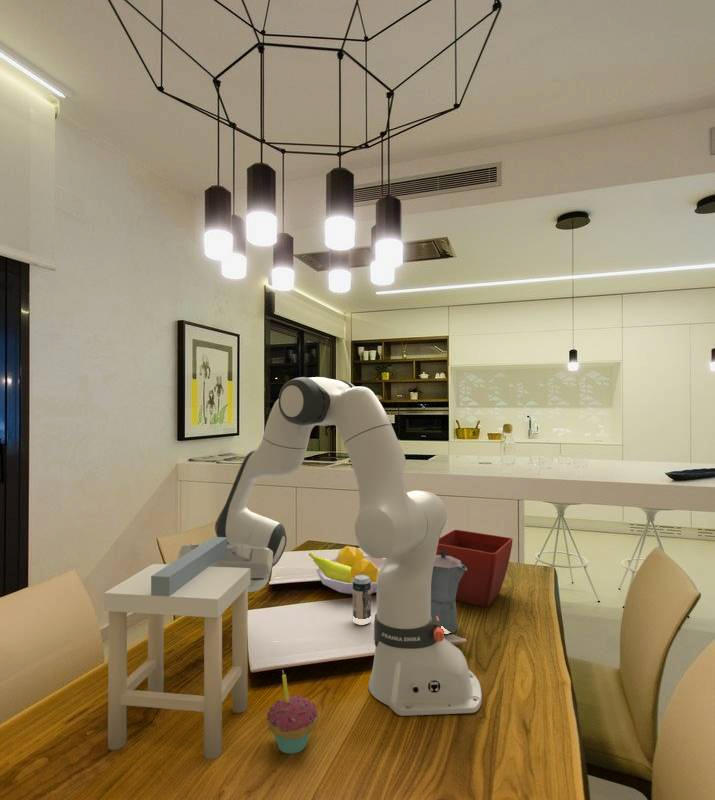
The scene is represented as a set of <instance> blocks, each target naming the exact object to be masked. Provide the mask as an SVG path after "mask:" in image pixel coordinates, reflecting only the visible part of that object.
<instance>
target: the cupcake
mask: <svg viewBox="0 0 715 800" xmlns="http://www.w3.org/2000/svg"><path fill="white" fill-rule="evenodd" d="M281 672H282V675H281V678H282V686H283V695H284V697H283V698H282V699H280V700H277V701H276V702H273V705H272V706H271V707H270V708H269V709H268V710H269V711H268V712H267V714H266V720H267V724H268V730H269V732H271V733H272V734H273V736H274V738H275V741H276V743H277V747H278V749H279V750H280V752H282V753H284V754H297V753H299V752H301V751H303V750H304V749H305V748H306V746H307V744H308V743H307V742H308V739H309V735H310V734H311V733H313V731H314V730H315V728H316V727H317V724H318V720H319V719H318V718H319V712H318V709H317V706H316V704H315V703H314V702H312V701H311V700H310V699H309V698H305V697H304V696H300V695H291V696H289V690H288V683H287V682H288V681H287V680H288V679H287V674H285V671H284V670H283V669H282V670H281Z"/></svg>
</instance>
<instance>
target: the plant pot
mask: <svg viewBox="0 0 715 800" xmlns="http://www.w3.org/2000/svg"><path fill="white" fill-rule="evenodd" d="M513 541H514V539H513V538H512V537H507V536H506V537H504V536H501V535H500V536H499V535H494V534H487V533H481V532H475V531H468V530H460V529H453V530H451V531H449V532H447V533H446V534H444V535H442V536H440V538H439V542H438V547H437V552H436V555H441V551H442V550H444V551H447V553H446V556H451V557H454V558H456V559H458V560H460V561H461V564H463V565H464V566H465V567H466V568H467V571H465V572H464V573H463V575H462V577H461V579H460V581H459V583H458V587H457V593H456V598H455V601H457V602H458V601H459V602H461V603H462V602H463V603H465V604H470V605H473V606H477V607H478V606H479V607H483V608H488V607H489V606H490V605H491V604H492V603H493V601H494V600H495V599H496V598H498V596H499V594H500V592H501V589H502V587H503V584H504V580H505V578H506V573H507V571H508V567H509V563H510V559H511V553H512V548H513Z"/></svg>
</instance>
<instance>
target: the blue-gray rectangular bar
mask: <svg viewBox="0 0 715 800" xmlns="http://www.w3.org/2000/svg"><path fill="white" fill-rule="evenodd" d="M198 545H199V544H198ZM226 553H227V537H217V536H212V537H210V538H209V539H207V540H206V541H204V542H203V543H201V544H200V545H199V546H198V547H196V548H195V549H193V550H192V551H190V552H188V553H187V554H185V555H184V556H182V557H180V558H179V559H178V558H177V559H176V560H174V561H172V562H171V563H168V566H166V567H165V568H163V569H162V570H160V571H158V572H157V573H155V574H154V575H152V576H151V596H171V595H172V594H173V593H175V592H176V591H177V590H179V589H180V588H181V587H183V586H184V585H185V584H186V583H188V582H189V581H190V580H192V579H193V578H194V577H196V576H197V575H198V574H200V573H201V572H202V571H204V570H205V569H206V568H208V567H209V566H210V565H211V564H213V563H214V562H215V561H217V560H218V559H219V558H221V557H222V556H223V555H225V554H226Z"/></svg>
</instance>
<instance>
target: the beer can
mask: <svg viewBox="0 0 715 800" xmlns="http://www.w3.org/2000/svg"><path fill="white" fill-rule="evenodd" d="M353 616H354V617H355V618H358V619H366V618H369V617H370V616H371V617H372V594H371V580H370V578H369V576H368V575H364V574H362V575H356V576H355V577H354V579H353V594H352V617H353Z"/></svg>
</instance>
